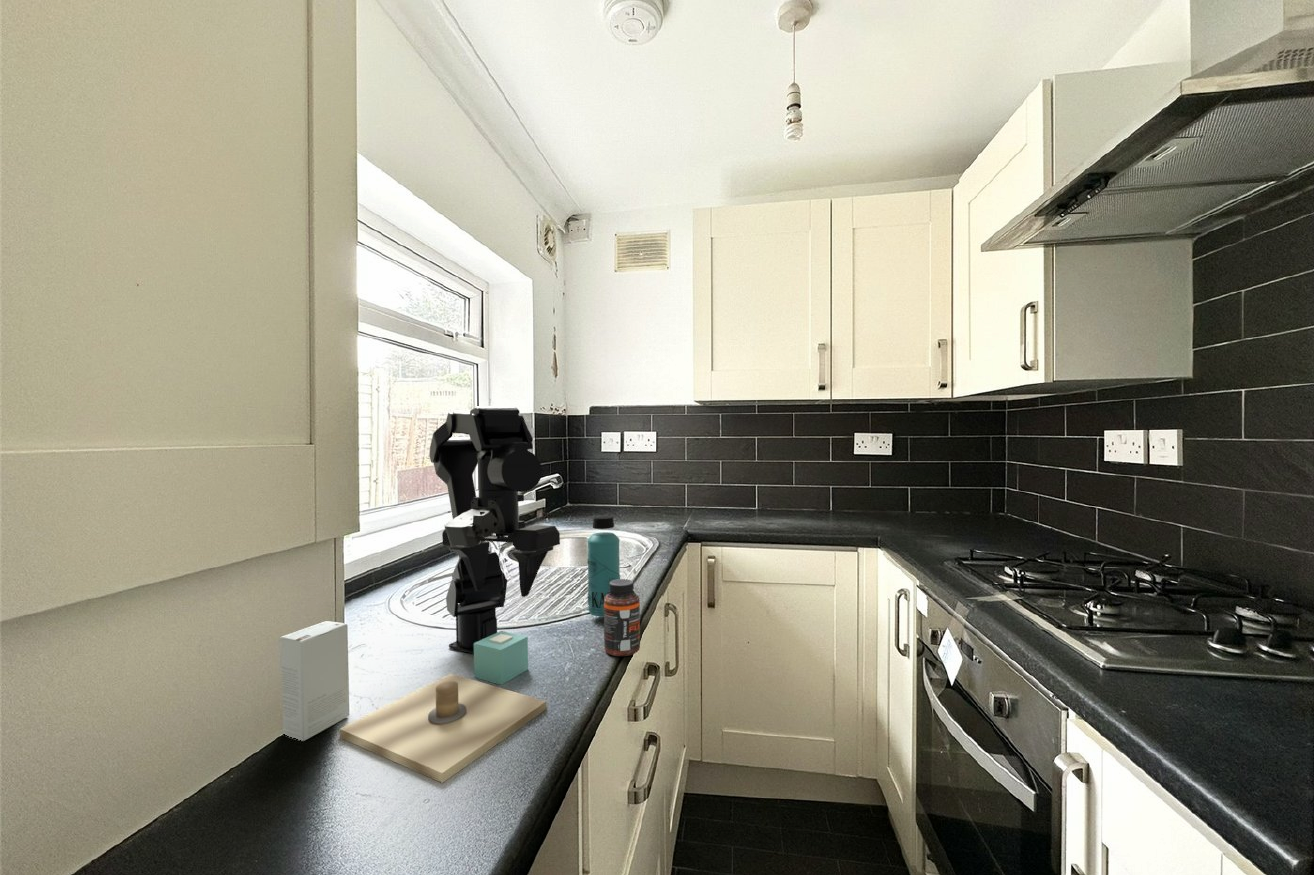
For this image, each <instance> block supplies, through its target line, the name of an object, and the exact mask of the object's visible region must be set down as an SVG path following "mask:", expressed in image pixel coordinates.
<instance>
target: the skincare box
mask: <svg viewBox="0 0 1314 875" xmlns="http://www.w3.org/2000/svg"><path fill="white" fill-rule="evenodd" d="M348 631H349V630H348V624H347V623H343V622H336V621H330V620H329V621H328V620H325V621H322V622H320V623H316V624H314V625H311V626H308V627H305V628H302V629H299V630H297V631H294V632H291V633H288V634H285V635H282V636H280V637H279V638H278V640H279V643H278V644H279V646H278V647H279V669H280V668H281V679H282V680H281V681H282V698H283V707H282V708H283V734H285V735H287V736H289V737H288V738H290V737H292V738H291V739H293V738H296V739H298V740H297V741H300V740H301V741H300V742H305V741H306V740H308V739H310V738H312V737H313V736H315V735H317V734H319V733H321V732H324V731H325V730H327V729H328V728H331V727H332V726H333V725H335V724H337V723H340V722H341V721H343V720H345V719H346V718H348V717H350V684H349V683H350V682H349V680H350V679H349V676H350V675H349V635H348V633H349V632H348ZM280 666H281V667H280ZM283 734H282V735H283ZM287 736H286V737H287ZM296 739H295V740H296Z"/></svg>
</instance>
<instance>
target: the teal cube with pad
mask: <svg viewBox="0 0 1314 875" xmlns="http://www.w3.org/2000/svg"><path fill="white" fill-rule="evenodd" d="M528 637H529V636H526V635H522V634H518V633H513V632H508V631H504V630H500V631H497V633H495V634H493V635H491V636H489V637H487V638H484V639H482V640H480V641H478V642H476V643H474V654H473V676H474V678H475V679H480V680H483V681H487V682H490V683H494V684H497V685H499V686H501V685H504V684H506V683H508V682H509V681H511V680H513V679H515V678H516V677H518V676H520V675H521V674H522V673H524V672H526V671H528V670H529V644H528V643H529V642H528V641H529V638H528Z"/></svg>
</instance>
